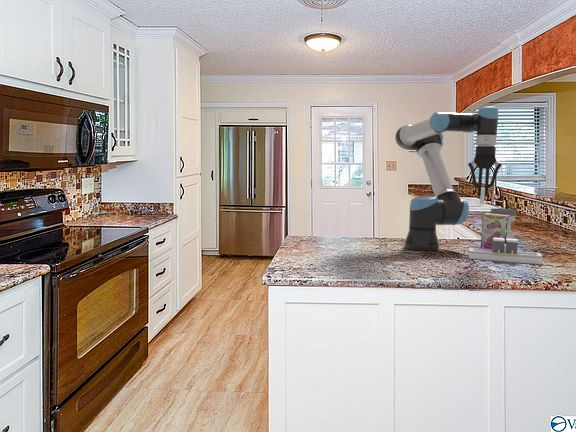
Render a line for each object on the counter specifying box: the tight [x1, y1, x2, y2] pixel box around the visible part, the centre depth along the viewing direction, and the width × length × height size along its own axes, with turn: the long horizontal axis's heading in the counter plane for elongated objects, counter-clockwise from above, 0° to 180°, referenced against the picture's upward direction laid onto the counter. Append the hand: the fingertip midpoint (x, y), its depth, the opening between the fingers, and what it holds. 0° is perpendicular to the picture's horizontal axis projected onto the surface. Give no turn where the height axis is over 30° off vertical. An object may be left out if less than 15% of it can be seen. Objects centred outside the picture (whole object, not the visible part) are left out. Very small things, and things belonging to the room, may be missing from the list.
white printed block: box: [490, 208, 517, 239], centre depth 263 cm, size 13×13×15 cm
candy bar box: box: [479, 212, 512, 250], centre depth 223 cm, size 11×5×16 cm, turn 47°
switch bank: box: [468, 244, 544, 265], centre depth 205 cm, size 27×10×6 cm, turn 71°
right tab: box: [506, 238, 519, 254], centre depth 204 cm, size 4×4×6 cm
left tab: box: [492, 238, 505, 253], centre depth 205 cm, size 4×4×6 cm
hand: (481, 204), depth 206 cm, fingers closed
